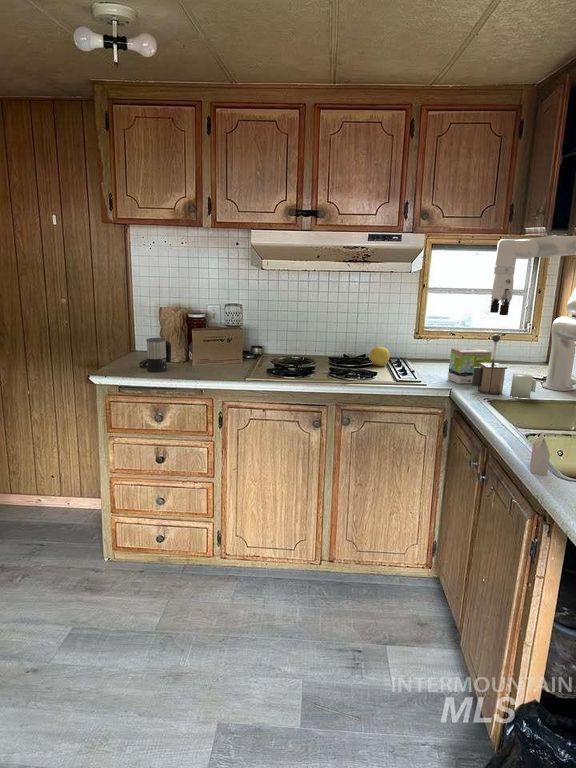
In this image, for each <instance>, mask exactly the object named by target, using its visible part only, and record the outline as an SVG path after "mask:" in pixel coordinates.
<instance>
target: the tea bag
mask: <svg viewBox="0 0 576 768" xmlns="http://www.w3.org/2000/svg"><path fill="white" fill-rule="evenodd" d="M531 450H532V451H531V454H530V455H531V456H530V457H531V458H530V463H529V467H530V474H531V475H538V476H544V477H547V476H548V468H549V462H550V456H551V454H550V449H549V446H548V443H547V441H546V439H545V434H544V431H541V432H540V434H539V436H538V437H537V439H536V440H535V441H534V443H533V444H532V449H531Z"/></svg>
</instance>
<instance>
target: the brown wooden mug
mask: <svg viewBox="0 0 576 768" xmlns="http://www.w3.org/2000/svg"><path fill="white" fill-rule="evenodd" d="M479 364H480V367H474V368H473V376H472V383H471V386H472V387H476V390H477V392H478V393H481V394H484V395H489V396H491V395H493V396H496V395H497V396H499V394H500V395H502V394H503V392H504V383H505V376H506V375H505V374H506V370H507V369H508V367H507V366H505V365H503V364H501V363H499V362H494V366H492V362H490V363H479Z"/></svg>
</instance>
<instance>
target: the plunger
mask: <svg viewBox="0 0 576 768" xmlns="http://www.w3.org/2000/svg"><path fill="white" fill-rule="evenodd" d="M491 340H492V342H494V343H493V349H492V357H491V363H492V366H494V363H496V362H495V361H496V360H495V359H496V353H497V352H496V351H497V343H498V342H499V341H501V336H500V335H499V334H493V335H492V337H491Z"/></svg>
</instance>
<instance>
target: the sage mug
mask: <svg viewBox="0 0 576 768" xmlns="http://www.w3.org/2000/svg"><path fill="white" fill-rule="evenodd" d="M511 378H512V379H511V386H510V395H509V396H510V397H511V396H512V397H511V398H513V397H518V398H530V399H531V393H536V388H537V382H538V381H537V379H535V378H534V376H533V375H532V374H526V373H513V374H512V377H511Z"/></svg>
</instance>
